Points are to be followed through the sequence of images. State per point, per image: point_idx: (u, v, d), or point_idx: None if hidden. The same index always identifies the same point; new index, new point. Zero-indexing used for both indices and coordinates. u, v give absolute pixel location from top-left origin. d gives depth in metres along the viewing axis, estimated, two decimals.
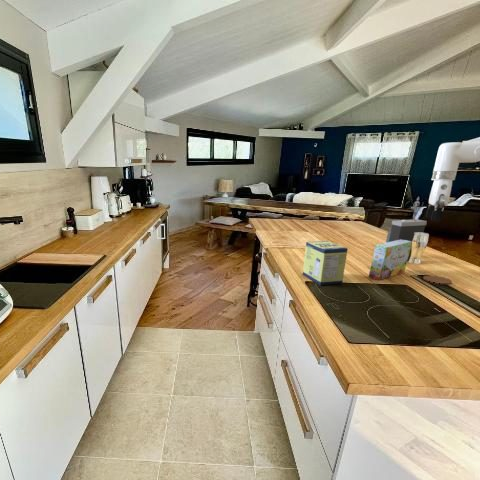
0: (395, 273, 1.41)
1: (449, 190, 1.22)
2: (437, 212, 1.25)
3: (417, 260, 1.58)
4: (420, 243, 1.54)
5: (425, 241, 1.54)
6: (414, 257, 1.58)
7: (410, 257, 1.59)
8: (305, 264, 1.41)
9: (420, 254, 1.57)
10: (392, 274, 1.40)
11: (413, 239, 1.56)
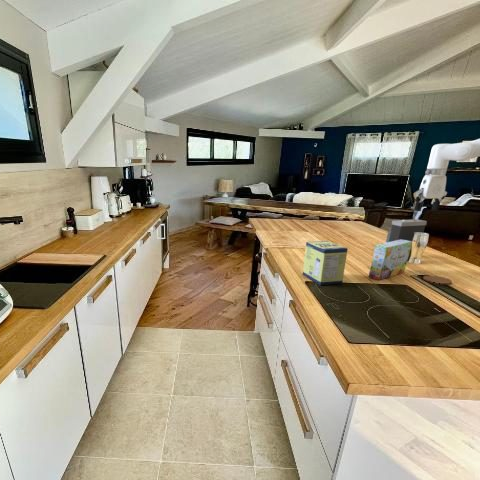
0: (395, 273, 1.41)
1: (427, 185, 1.44)
2: (416, 203, 1.49)
3: (417, 260, 1.58)
4: (420, 243, 1.54)
5: (425, 241, 1.53)
6: (414, 257, 1.58)
7: (410, 257, 1.59)
8: (305, 264, 1.41)
9: (420, 254, 1.57)
10: (392, 274, 1.40)
11: (413, 239, 1.56)
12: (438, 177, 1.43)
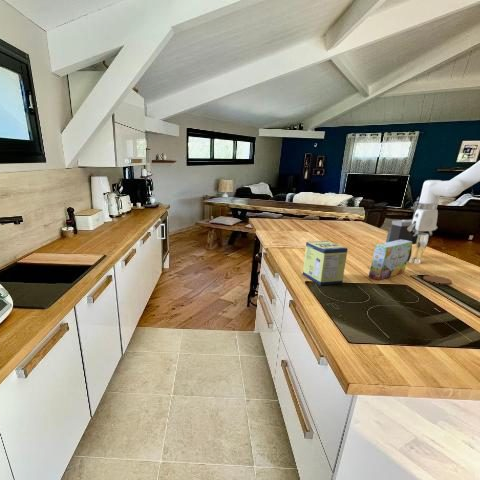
0: (395, 273, 1.41)
1: (419, 218, 1.50)
2: (411, 236, 1.56)
3: (417, 260, 1.58)
4: (420, 243, 1.54)
5: (425, 241, 1.54)
6: (414, 257, 1.58)
7: (410, 257, 1.59)
8: (305, 264, 1.41)
9: (420, 254, 1.57)
10: (392, 274, 1.40)
11: None
12: (430, 211, 1.49)
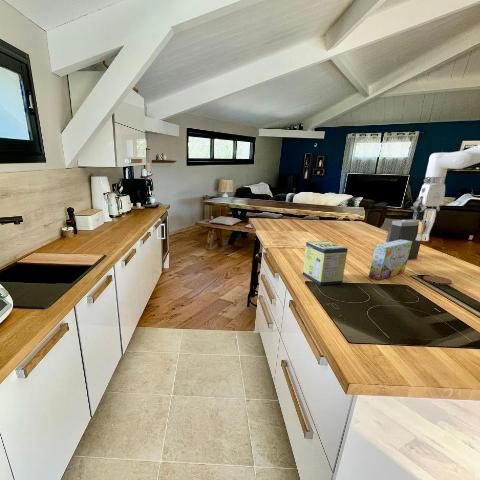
0: (395, 273, 1.41)
1: (426, 193, 1.46)
2: (418, 212, 1.51)
3: (424, 237, 1.53)
4: (427, 219, 1.49)
5: (432, 217, 1.49)
6: (421, 233, 1.53)
7: (417, 234, 1.55)
8: (305, 264, 1.41)
9: (427, 231, 1.52)
10: (392, 274, 1.40)
11: None
12: (437, 185, 1.44)
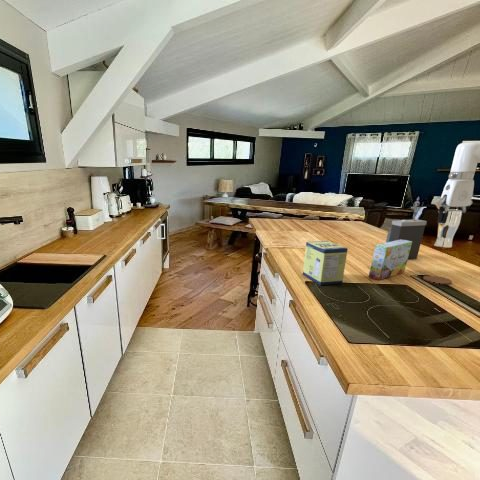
0: (395, 273, 1.41)
1: (451, 191, 1.23)
2: (440, 214, 1.28)
3: (447, 243, 1.30)
4: (451, 222, 1.26)
5: (458, 219, 1.26)
6: (443, 239, 1.30)
7: (438, 239, 1.32)
8: (305, 264, 1.41)
9: (451, 235, 1.29)
10: (392, 274, 1.40)
11: None
12: (464, 182, 1.21)
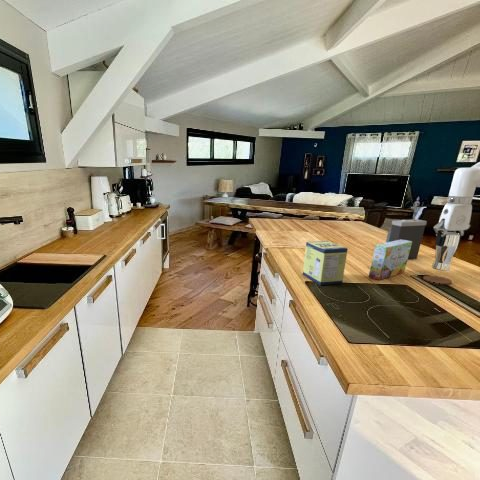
0: (395, 273, 1.41)
1: (449, 215, 1.22)
2: (438, 237, 1.28)
3: (445, 266, 1.30)
4: (449, 245, 1.26)
5: (456, 243, 1.26)
6: (441, 262, 1.30)
7: (436, 262, 1.32)
8: (305, 264, 1.41)
9: (449, 259, 1.29)
10: (392, 274, 1.40)
11: None
12: (462, 206, 1.21)
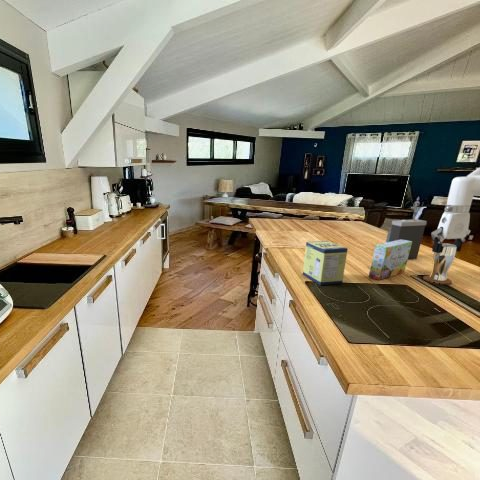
0: (395, 273, 1.41)
1: (447, 224, 1.24)
2: (435, 243, 1.28)
3: (442, 277, 1.31)
4: (446, 257, 1.28)
5: (452, 254, 1.27)
6: (438, 273, 1.32)
7: (433, 273, 1.33)
8: (305, 264, 1.41)
9: (446, 270, 1.30)
10: (392, 274, 1.40)
11: None
12: (460, 215, 1.22)
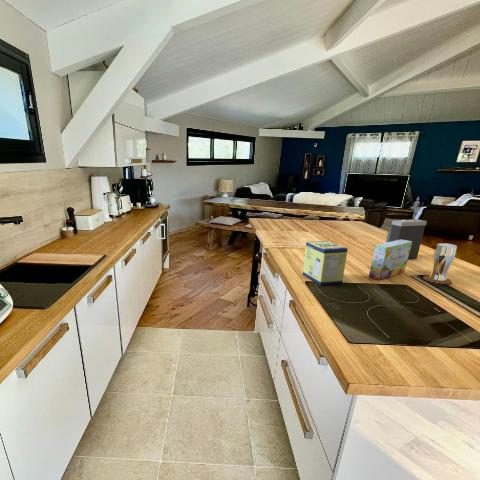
0: (395, 273, 1.41)
1: None
2: None
3: (442, 277, 1.31)
4: (446, 257, 1.28)
5: (452, 254, 1.27)
6: (438, 273, 1.32)
7: (433, 273, 1.33)
8: (305, 264, 1.41)
9: (446, 270, 1.30)
10: (392, 274, 1.40)
11: (437, 252, 1.30)
12: None
